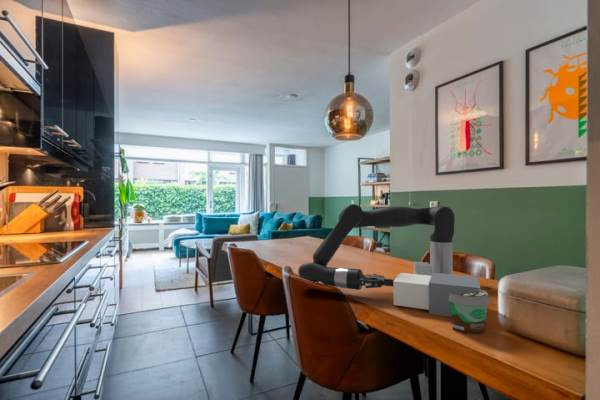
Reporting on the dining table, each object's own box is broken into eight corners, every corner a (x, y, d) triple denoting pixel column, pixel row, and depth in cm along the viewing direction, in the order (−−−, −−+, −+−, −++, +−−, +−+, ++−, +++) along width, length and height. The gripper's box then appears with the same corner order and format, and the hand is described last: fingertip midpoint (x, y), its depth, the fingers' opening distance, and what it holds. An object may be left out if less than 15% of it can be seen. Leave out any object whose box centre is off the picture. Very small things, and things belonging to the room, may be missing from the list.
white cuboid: (393, 304, 102) (393, 281, 102) (400, 293, 114) (400, 272, 114) (479, 316, 90) (479, 290, 90) (477, 303, 103) (476, 279, 103)
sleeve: (429, 313, 96) (428, 282, 96) (432, 299, 110) (432, 272, 110) (481, 321, 89) (480, 288, 89) (477, 305, 103) (477, 276, 104)
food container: (469, 339, 77) (468, 299, 77) (448, 330, 83) (448, 293, 83) (501, 331, 82) (500, 293, 82) (479, 323, 88) (479, 288, 88)
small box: (432, 293, 118) (432, 265, 118) (417, 292, 119) (416, 265, 119) (428, 287, 126) (427, 262, 126) (413, 287, 127) (413, 261, 127)
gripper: (342, 271, 110) (392, 276, 102) (353, 265, 122) (398, 269, 114) (342, 292, 110) (392, 299, 102) (354, 284, 122) (399, 289, 114)
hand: (395, 283), depth 108 cm, fingers closed
